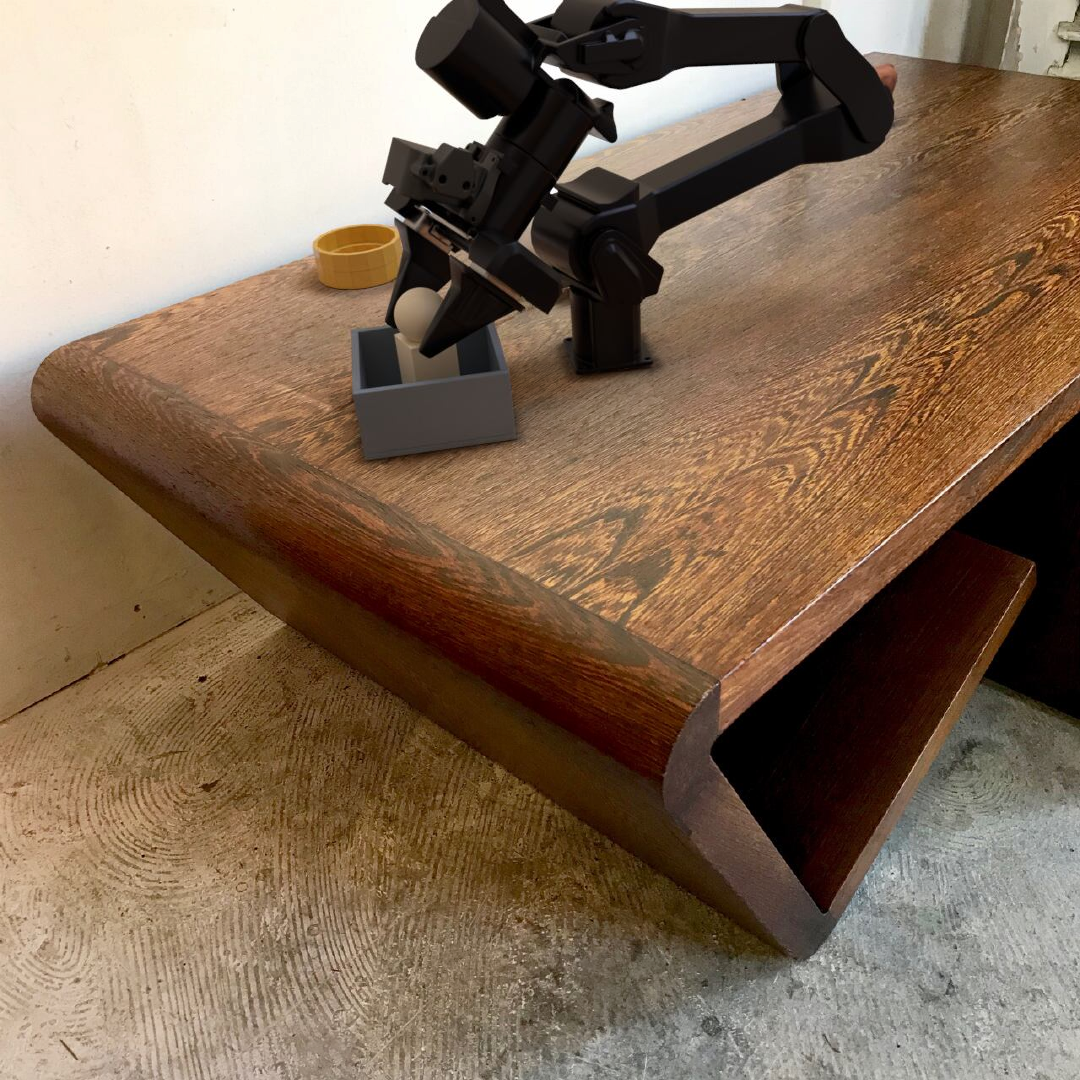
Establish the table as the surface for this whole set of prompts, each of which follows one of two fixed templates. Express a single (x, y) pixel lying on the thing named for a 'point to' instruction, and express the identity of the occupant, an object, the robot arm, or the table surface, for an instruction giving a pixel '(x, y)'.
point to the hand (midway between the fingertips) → (406, 340)
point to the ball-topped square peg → (420, 338)
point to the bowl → (358, 256)
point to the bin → (430, 396)
